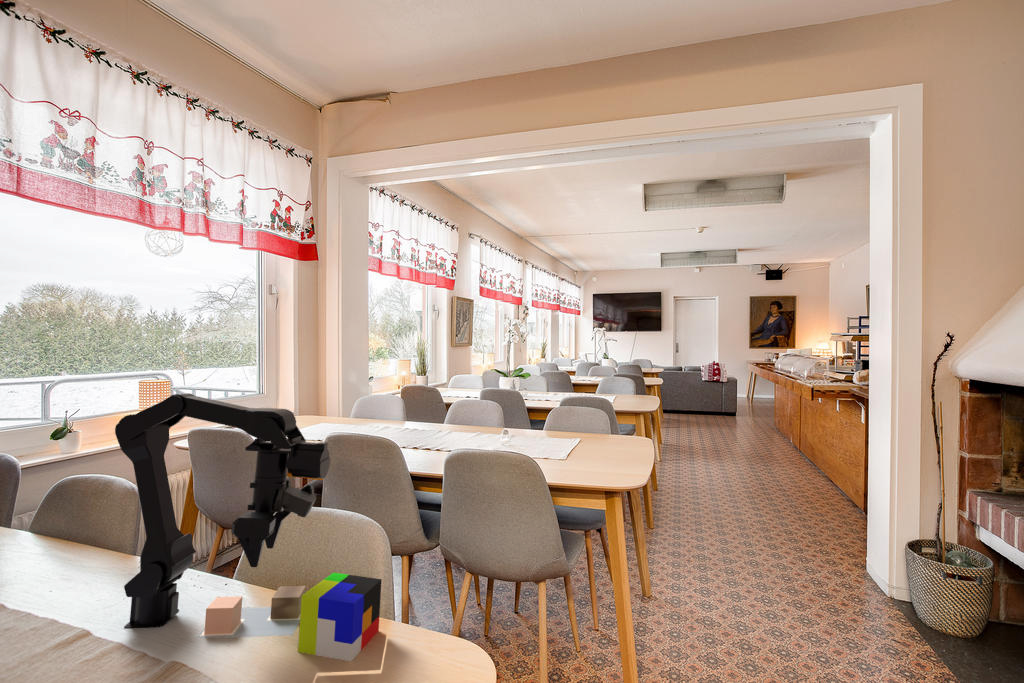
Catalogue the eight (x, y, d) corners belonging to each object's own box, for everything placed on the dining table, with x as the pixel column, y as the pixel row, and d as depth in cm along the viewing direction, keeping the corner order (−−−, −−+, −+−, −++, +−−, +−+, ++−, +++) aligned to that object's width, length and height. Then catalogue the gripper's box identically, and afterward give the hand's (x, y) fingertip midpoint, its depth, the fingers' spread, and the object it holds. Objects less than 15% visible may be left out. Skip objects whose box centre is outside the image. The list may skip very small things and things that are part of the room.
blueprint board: (195, 640, 88) (195, 638, 88) (222, 609, 99) (222, 606, 99) (292, 637, 90) (292, 634, 90) (308, 606, 102) (308, 604, 102)
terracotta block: (204, 634, 89) (206, 608, 90) (215, 621, 94) (217, 597, 94) (231, 633, 90) (232, 607, 90) (240, 620, 94) (242, 596, 95)
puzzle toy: (350, 664, 83) (354, 603, 84) (297, 655, 85) (301, 595, 86) (378, 633, 93) (381, 579, 94) (330, 625, 95) (333, 572, 96)
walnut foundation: (270, 619, 95) (271, 597, 96) (278, 606, 100) (279, 586, 101) (297, 618, 96) (299, 597, 96) (304, 605, 101) (305, 585, 101)
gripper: (302, 488, 88) (293, 578, 87) (324, 466, 106) (317, 540, 105) (235, 486, 86) (225, 578, 85) (269, 464, 105) (261, 539, 104)
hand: (262, 557), depth 95 cm, fingers open, 9 cm apart
